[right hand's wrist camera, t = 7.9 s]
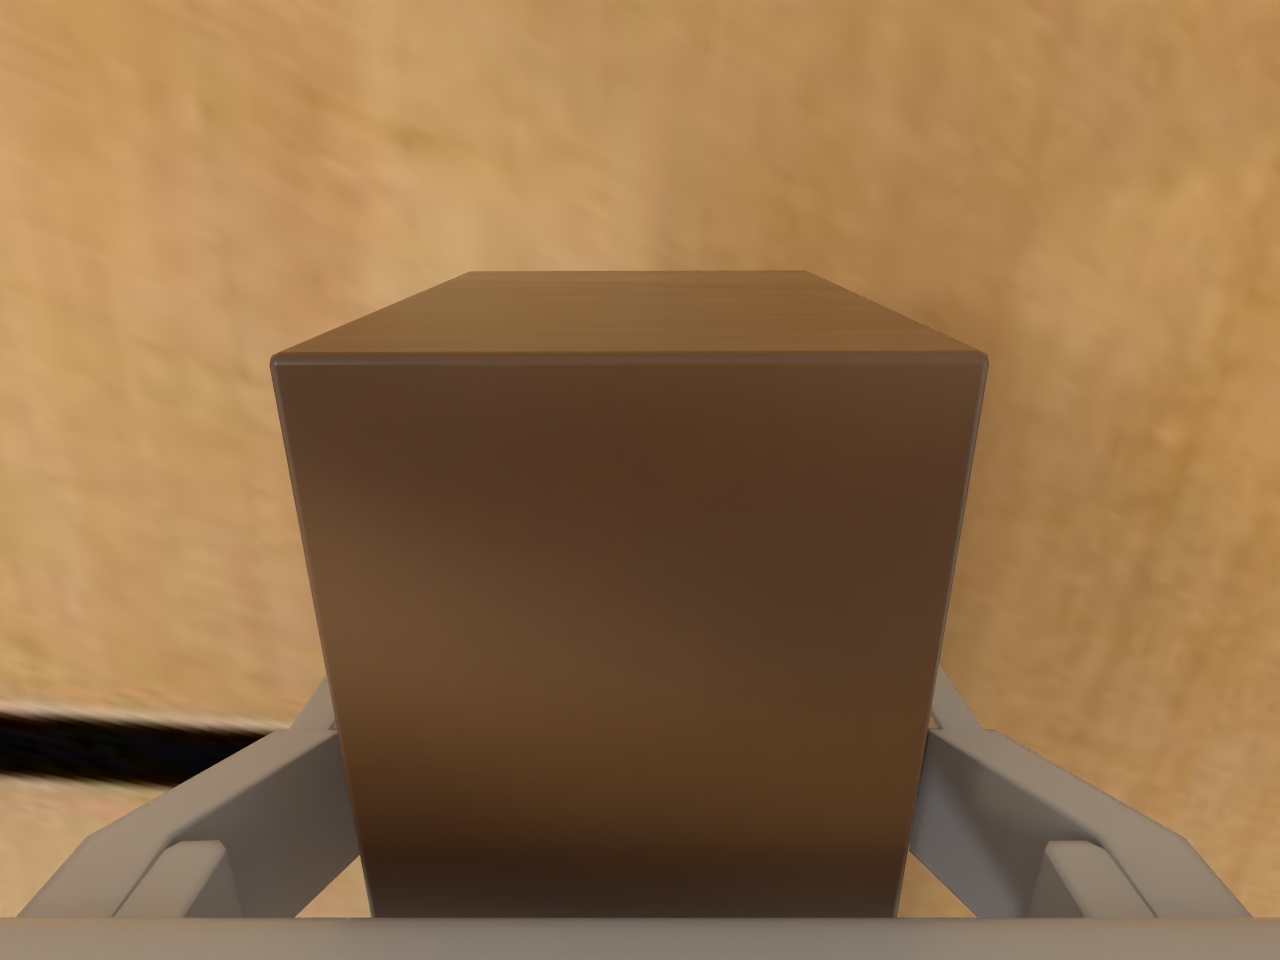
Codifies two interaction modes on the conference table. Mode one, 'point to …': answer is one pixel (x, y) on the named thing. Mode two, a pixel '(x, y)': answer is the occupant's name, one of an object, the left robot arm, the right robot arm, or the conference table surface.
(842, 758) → the beam
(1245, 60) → the conference table surface
